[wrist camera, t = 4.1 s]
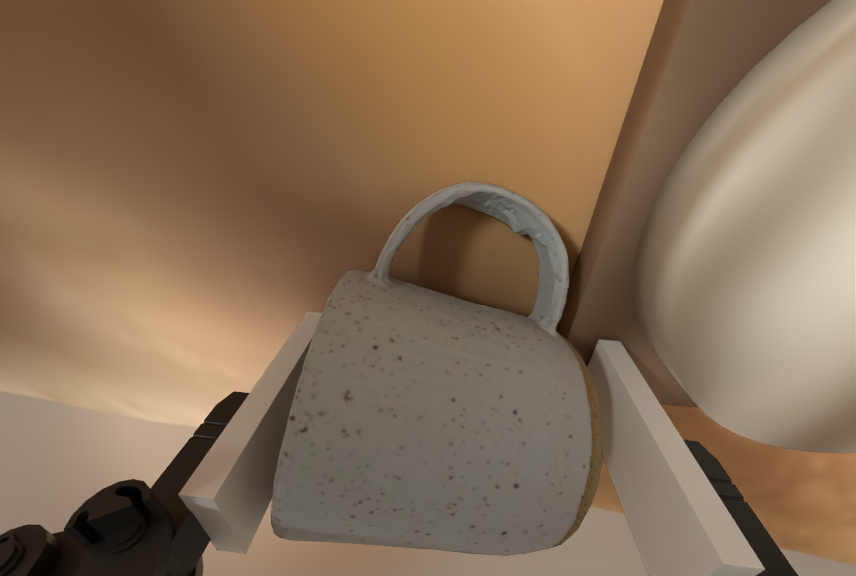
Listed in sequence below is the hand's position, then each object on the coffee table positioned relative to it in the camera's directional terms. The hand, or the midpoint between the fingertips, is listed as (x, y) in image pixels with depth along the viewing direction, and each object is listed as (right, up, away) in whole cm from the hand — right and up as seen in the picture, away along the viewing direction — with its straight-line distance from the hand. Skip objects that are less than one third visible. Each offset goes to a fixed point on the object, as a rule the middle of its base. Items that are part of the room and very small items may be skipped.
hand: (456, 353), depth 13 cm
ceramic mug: (-1, +2, +1) cm, 2 cm away
